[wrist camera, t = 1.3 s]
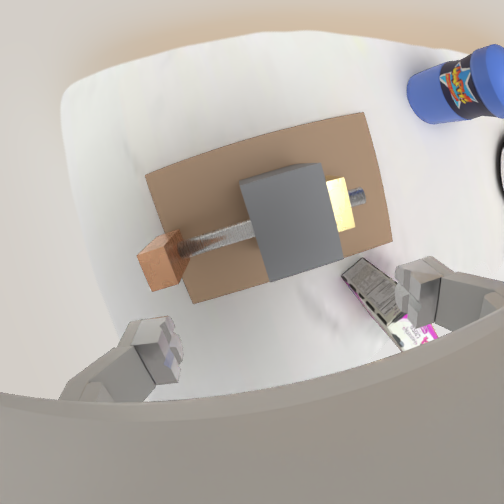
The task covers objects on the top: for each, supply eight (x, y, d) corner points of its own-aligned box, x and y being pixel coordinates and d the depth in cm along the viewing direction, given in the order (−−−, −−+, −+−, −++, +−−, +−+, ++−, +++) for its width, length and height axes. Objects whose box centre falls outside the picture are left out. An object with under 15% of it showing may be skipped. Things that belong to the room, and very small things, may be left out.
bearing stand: (389, 239, 42) (437, 266, 30) (194, 301, 44) (179, 350, 31) (361, 113, 37) (407, 96, 24) (146, 175, 38) (108, 179, 26)
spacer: (338, 217, 36) (355, 227, 30) (321, 223, 36) (335, 233, 30) (328, 175, 34) (344, 177, 29) (310, 180, 34) (323, 182, 29)
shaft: (355, 208, 35) (385, 219, 27) (168, 265, 36) (151, 291, 28) (348, 177, 34) (377, 181, 26) (157, 236, 34) (136, 255, 27)
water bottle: (440, 74, 35) (547, 46, 11) (452, 125, 37) (567, 121, 13) (399, 71, 35) (511, 24, 11) (412, 125, 37) (538, 113, 13)
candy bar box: (394, 299, 46) (446, 350, 30) (372, 318, 46) (418, 375, 31) (363, 254, 43) (419, 298, 27) (339, 275, 44) (385, 329, 28)
